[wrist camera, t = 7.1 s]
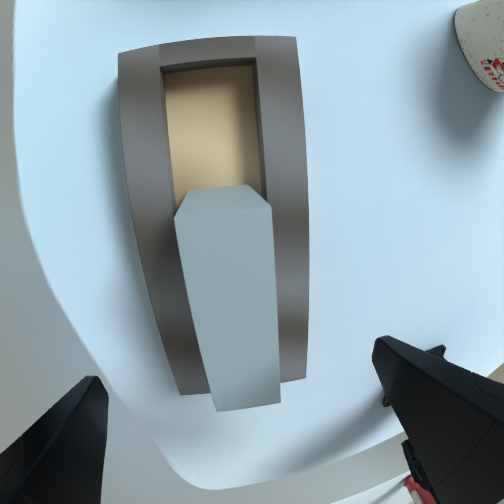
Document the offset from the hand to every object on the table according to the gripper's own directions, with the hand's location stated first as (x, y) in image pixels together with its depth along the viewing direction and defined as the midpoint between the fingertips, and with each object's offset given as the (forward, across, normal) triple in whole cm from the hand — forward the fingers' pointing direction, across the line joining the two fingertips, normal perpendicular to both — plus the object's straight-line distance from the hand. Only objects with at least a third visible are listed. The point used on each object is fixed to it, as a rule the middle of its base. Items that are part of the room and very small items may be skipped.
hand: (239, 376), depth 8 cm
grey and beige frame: (+9, 0, -2) cm, 10 cm away
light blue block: (+8, 0, 0) cm, 8 cm away
